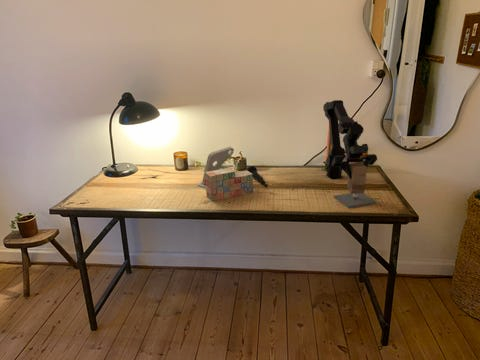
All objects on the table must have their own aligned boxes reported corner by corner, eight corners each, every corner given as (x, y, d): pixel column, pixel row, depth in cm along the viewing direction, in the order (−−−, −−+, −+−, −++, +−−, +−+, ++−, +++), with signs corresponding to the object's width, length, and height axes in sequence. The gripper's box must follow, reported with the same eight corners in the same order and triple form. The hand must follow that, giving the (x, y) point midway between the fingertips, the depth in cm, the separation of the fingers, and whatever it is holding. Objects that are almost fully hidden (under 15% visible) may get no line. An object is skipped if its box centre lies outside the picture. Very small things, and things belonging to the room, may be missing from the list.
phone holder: (221, 175, 211) (220, 142, 204) (235, 180, 204) (234, 146, 198) (196, 185, 199) (194, 150, 192) (210, 190, 192) (209, 154, 186)
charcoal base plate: (360, 193, 185) (360, 191, 184) (376, 203, 174) (376, 201, 174) (333, 197, 181) (334, 195, 180) (348, 208, 170) (348, 206, 170)
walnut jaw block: (347, 188, 178) (349, 163, 174) (359, 188, 179) (361, 162, 174) (351, 193, 173) (353, 167, 169) (364, 193, 173) (366, 167, 169)
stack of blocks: (247, 188, 194) (247, 164, 190) (253, 192, 189) (253, 168, 184) (206, 196, 186) (204, 171, 181) (211, 201, 180) (209, 175, 176)
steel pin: (355, 197, 178) (356, 190, 177) (358, 199, 176) (358, 191, 175) (351, 198, 178) (352, 190, 176) (354, 199, 176) (354, 192, 175)
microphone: (269, 191, 197) (252, 174, 213) (273, 181, 195) (255, 164, 211) (260, 190, 194) (243, 173, 211) (263, 180, 193) (246, 163, 209)
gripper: (335, 138, 170) (341, 171, 164) (378, 136, 172) (386, 169, 165) (329, 150, 181) (334, 182, 174) (369, 148, 182) (376, 179, 176)
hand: (357, 178), depth 172 cm, fingers closed on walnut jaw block, 6 cm apart
